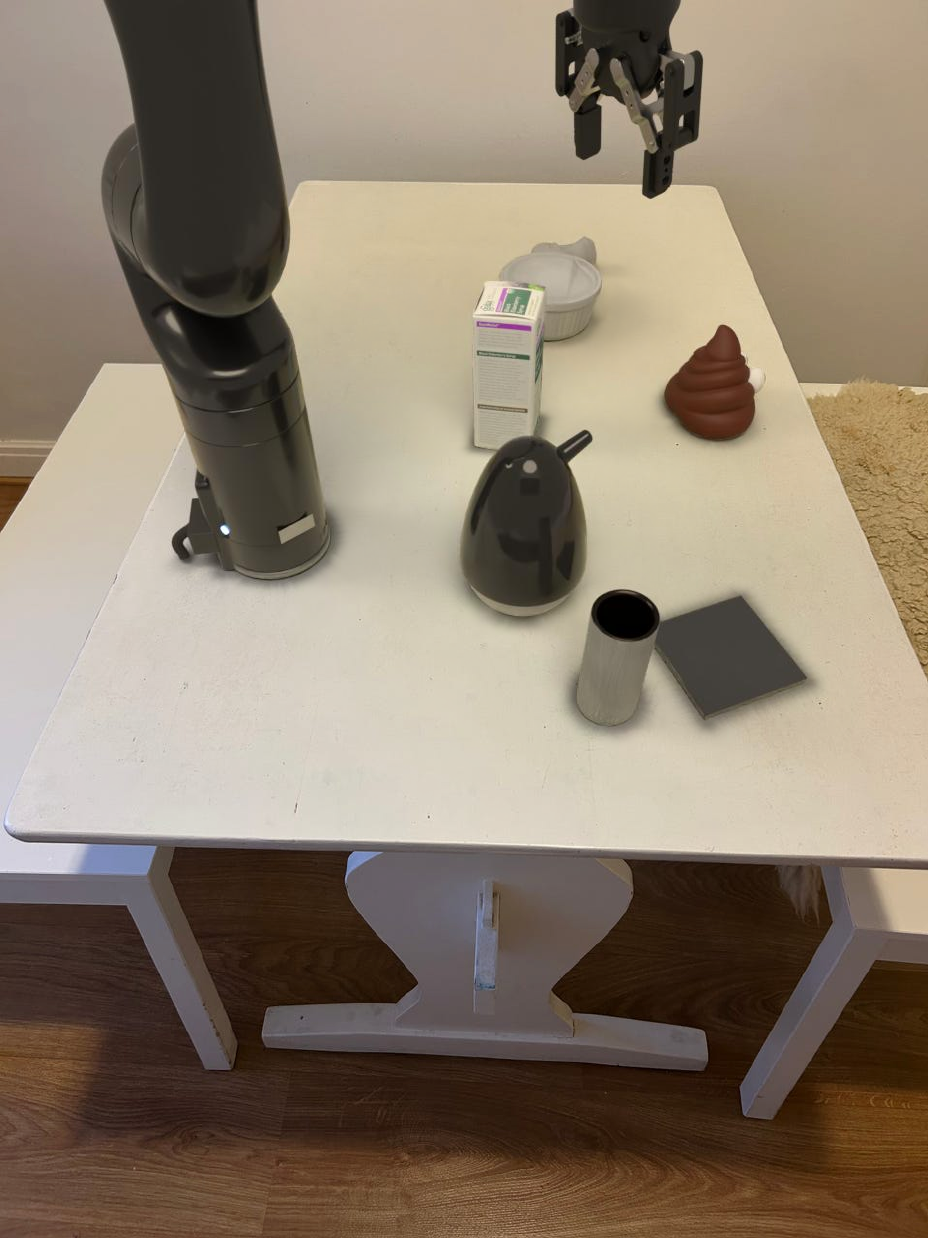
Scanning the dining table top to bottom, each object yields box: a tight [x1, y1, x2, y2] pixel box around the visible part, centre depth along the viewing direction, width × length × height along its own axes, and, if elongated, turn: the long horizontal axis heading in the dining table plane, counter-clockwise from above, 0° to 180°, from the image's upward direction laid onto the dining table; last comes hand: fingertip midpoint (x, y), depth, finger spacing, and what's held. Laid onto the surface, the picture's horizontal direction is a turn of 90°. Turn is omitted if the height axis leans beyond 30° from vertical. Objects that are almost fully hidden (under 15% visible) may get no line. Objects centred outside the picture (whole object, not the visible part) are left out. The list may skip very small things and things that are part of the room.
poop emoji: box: [663, 324, 766, 441], centre depth 81 cm, size 10×8×9 cm
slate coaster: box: [653, 594, 808, 720], centre depth 65 cm, size 9×9×1 cm
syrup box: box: [471, 280, 547, 451], centre depth 77 cm, size 6×6×14 cm
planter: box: [576, 588, 661, 727], centre depth 59 cm, size 4×4×10 cm
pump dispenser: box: [458, 429, 594, 617], centre depth 64 cm, size 10×10×15 cm
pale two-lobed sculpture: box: [529, 236, 598, 267], centre depth 101 cm, size 4×8×5 cm
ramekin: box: [498, 252, 603, 341], centre depth 94 cm, size 11×11×5 cm
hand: (620, 174), depth 69 cm, fingers open, 8 cm apart
